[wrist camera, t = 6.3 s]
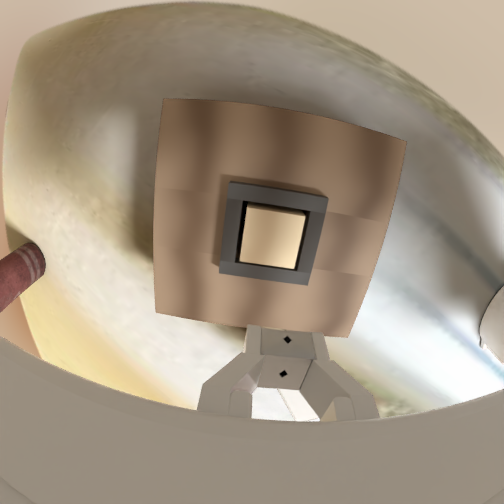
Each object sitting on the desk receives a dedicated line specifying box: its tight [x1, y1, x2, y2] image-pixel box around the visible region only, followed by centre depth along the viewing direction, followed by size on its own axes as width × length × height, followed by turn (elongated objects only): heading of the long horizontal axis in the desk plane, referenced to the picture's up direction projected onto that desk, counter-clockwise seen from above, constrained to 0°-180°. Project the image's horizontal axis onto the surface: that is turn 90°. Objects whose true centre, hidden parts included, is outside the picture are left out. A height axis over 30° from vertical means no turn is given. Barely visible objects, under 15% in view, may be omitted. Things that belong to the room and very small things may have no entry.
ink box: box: [277, 388, 319, 421], centre depth 31 cm, size 9×5×12 cm, turn 21°
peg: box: [240, 201, 305, 269], centre depth 25 cm, size 4×4×9 cm
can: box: [0, 243, 46, 312], centre depth 27 cm, size 6×6×14 cm
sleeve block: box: [153, 99, 407, 338], centre depth 25 cm, size 20×20×9 cm
